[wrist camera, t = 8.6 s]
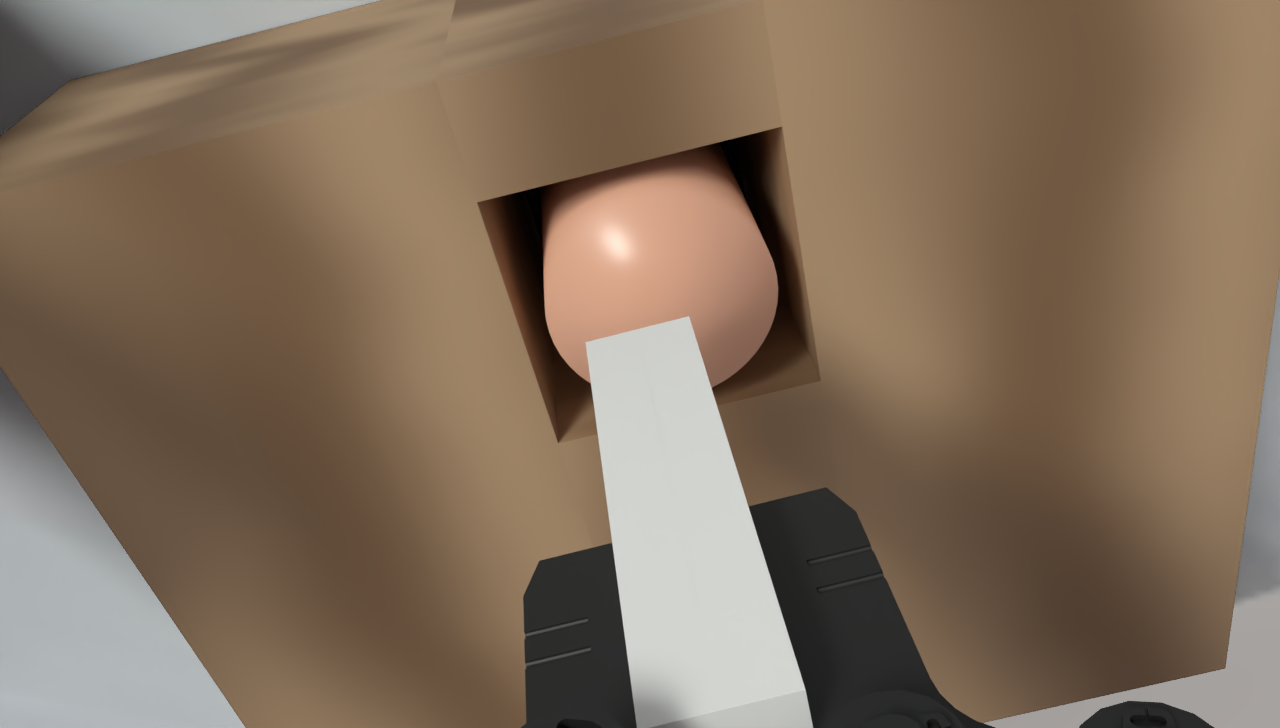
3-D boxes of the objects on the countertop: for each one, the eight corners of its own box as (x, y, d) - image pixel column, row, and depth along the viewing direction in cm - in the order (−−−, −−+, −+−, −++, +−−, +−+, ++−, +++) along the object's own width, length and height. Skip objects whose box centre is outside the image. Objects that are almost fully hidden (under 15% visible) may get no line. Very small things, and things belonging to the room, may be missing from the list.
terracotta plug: (566, 271, 24) (578, 422, 19) (517, 107, 22) (516, 228, 17) (735, 230, 24) (793, 371, 19) (703, 61, 21) (759, 168, 16)
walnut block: (374, 650, 31) (340, 867, 25) (69, 80, 22) (-101, 218, 16) (1089, 483, 30) (1225, 668, 25) (1106, -187, 21) (1336, -147, 15)
